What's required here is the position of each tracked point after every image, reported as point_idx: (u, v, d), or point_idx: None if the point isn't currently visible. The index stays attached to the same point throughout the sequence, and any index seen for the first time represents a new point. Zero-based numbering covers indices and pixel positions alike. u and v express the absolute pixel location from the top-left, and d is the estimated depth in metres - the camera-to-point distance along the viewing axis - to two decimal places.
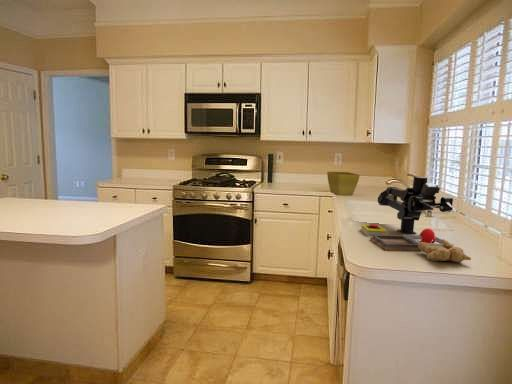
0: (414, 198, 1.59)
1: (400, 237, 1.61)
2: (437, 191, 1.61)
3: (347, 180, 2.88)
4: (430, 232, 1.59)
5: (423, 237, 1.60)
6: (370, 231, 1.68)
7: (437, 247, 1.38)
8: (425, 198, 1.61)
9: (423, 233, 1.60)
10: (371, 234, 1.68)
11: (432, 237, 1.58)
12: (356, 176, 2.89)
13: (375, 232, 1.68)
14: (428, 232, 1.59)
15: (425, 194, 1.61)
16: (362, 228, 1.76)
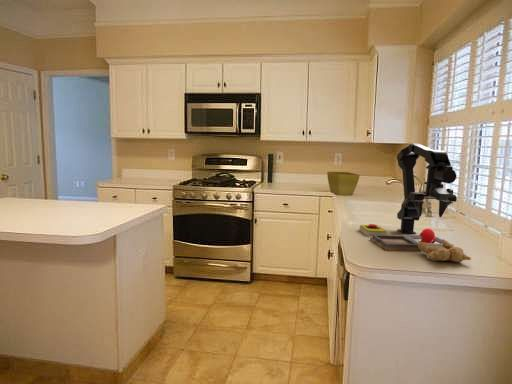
0: None
1: (400, 237, 1.61)
2: None
3: (347, 180, 2.88)
4: (430, 232, 1.59)
5: (423, 237, 1.60)
6: (370, 231, 1.68)
7: (437, 247, 1.38)
8: (431, 195, 1.56)
9: (423, 233, 1.60)
10: (371, 234, 1.68)
11: (432, 237, 1.58)
12: (356, 176, 2.89)
13: (375, 232, 1.68)
14: (428, 232, 1.59)
15: None
16: (361, 228, 1.76)
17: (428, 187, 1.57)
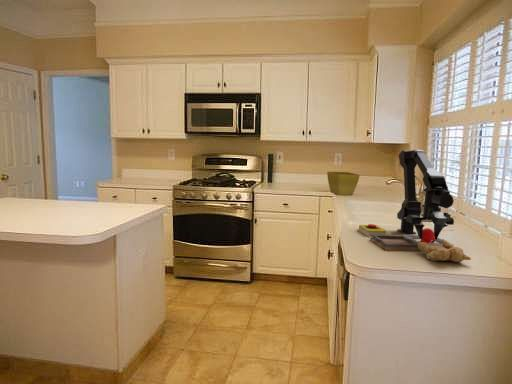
0: None
1: (400, 237, 1.61)
2: None
3: (347, 180, 2.88)
4: (430, 232, 1.59)
5: (423, 237, 1.60)
6: (370, 231, 1.67)
7: (437, 247, 1.38)
8: None
9: (423, 233, 1.60)
10: (371, 234, 1.68)
11: (432, 237, 1.58)
12: (356, 176, 2.89)
13: (375, 232, 1.68)
14: (428, 232, 1.59)
15: None
16: (361, 228, 1.75)
17: (426, 210, 1.59)
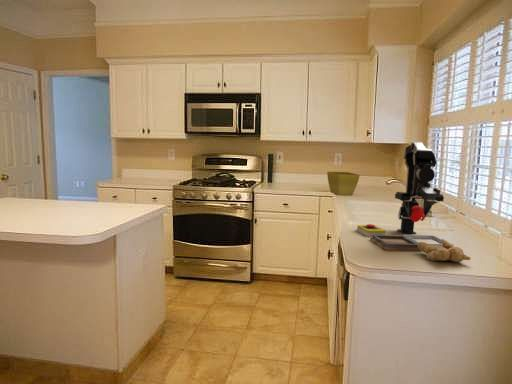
0: None
1: (400, 237, 1.61)
2: None
3: (347, 180, 2.88)
4: (419, 209, 1.55)
5: (412, 214, 1.55)
6: (371, 232, 1.67)
7: (437, 247, 1.38)
8: (418, 195, 1.53)
9: (412, 210, 1.56)
10: (372, 235, 1.67)
11: (421, 214, 1.53)
12: (356, 176, 2.89)
13: (375, 232, 1.67)
14: (417, 209, 1.55)
15: None
16: (359, 228, 1.74)
17: (415, 187, 1.54)
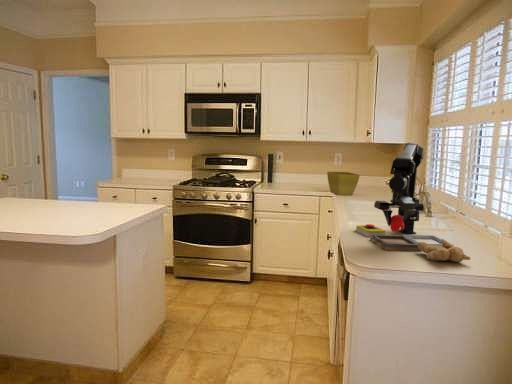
0: None
1: (400, 237, 1.61)
2: None
3: (347, 180, 2.88)
4: (398, 218, 1.52)
5: (391, 224, 1.52)
6: (371, 232, 1.67)
7: (437, 247, 1.38)
8: None
9: (391, 220, 1.53)
10: (372, 235, 1.67)
11: (400, 223, 1.50)
12: (356, 176, 2.89)
13: (376, 232, 1.67)
14: (396, 218, 1.52)
15: None
16: (359, 229, 1.74)
17: (394, 196, 1.51)
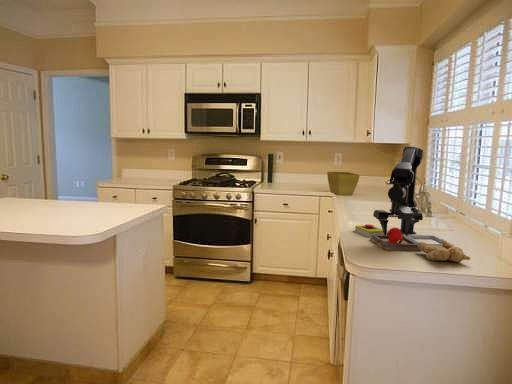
0: None
1: None
2: None
3: (347, 180, 2.88)
4: (397, 231, 1.52)
5: (390, 236, 1.53)
6: (372, 232, 1.66)
7: (436, 247, 1.38)
8: None
9: (390, 232, 1.53)
10: (372, 235, 1.67)
11: (399, 236, 1.51)
12: (356, 176, 2.89)
13: (376, 233, 1.67)
14: (395, 231, 1.52)
15: None
16: (358, 229, 1.73)
17: (393, 205, 1.51)
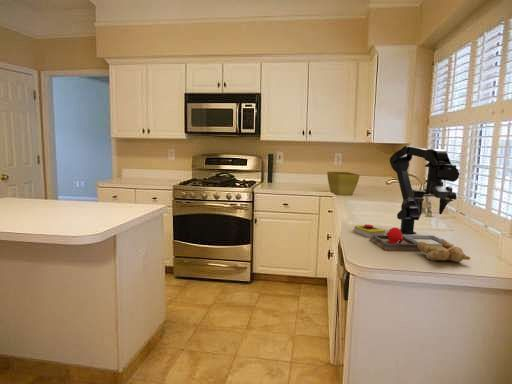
0: None
1: None
2: None
3: (347, 180, 2.88)
4: (397, 231, 1.52)
5: (390, 236, 1.53)
6: (372, 232, 1.66)
7: (436, 247, 1.38)
8: (431, 193, 1.61)
9: (390, 232, 1.53)
10: None
11: (399, 236, 1.51)
12: (356, 176, 2.89)
13: (376, 233, 1.67)
14: (395, 231, 1.52)
15: None
16: (358, 229, 1.73)
17: (428, 185, 1.62)
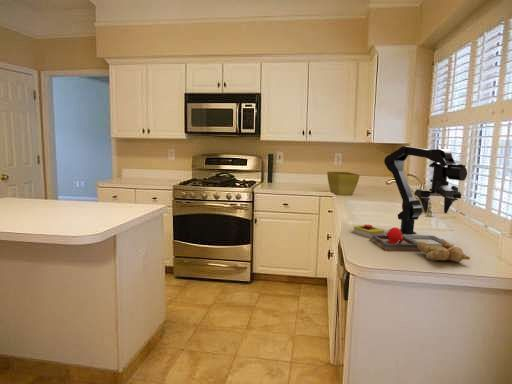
0: None
1: None
2: None
3: (347, 180, 2.88)
4: (397, 231, 1.52)
5: (390, 236, 1.53)
6: (373, 232, 1.66)
7: (436, 247, 1.38)
8: None
9: (390, 232, 1.53)
10: None
11: (399, 236, 1.51)
12: (356, 176, 2.89)
13: (376, 233, 1.67)
14: (395, 231, 1.52)
15: None
16: (357, 230, 1.72)
17: (434, 184, 1.64)
